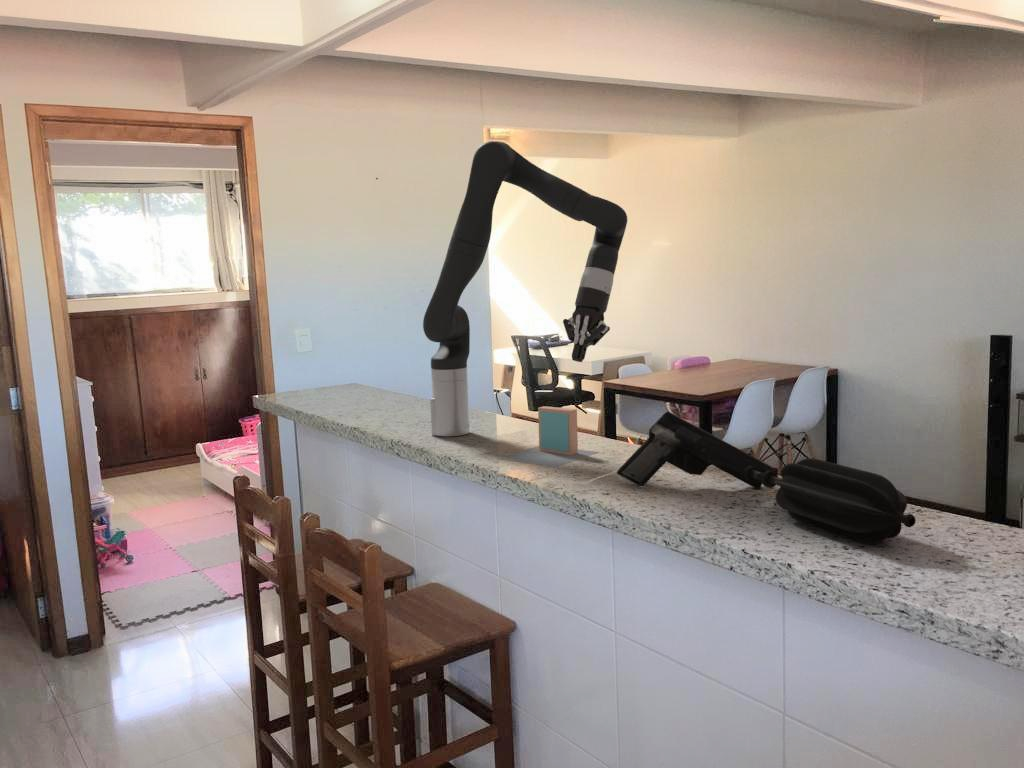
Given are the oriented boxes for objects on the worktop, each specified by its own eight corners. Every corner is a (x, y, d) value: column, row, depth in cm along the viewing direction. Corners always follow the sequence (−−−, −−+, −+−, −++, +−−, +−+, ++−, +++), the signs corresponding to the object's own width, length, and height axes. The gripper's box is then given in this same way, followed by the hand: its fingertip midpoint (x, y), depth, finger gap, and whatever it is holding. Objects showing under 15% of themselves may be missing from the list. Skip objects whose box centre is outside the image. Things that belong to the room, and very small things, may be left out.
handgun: (730, 536, 157) (771, 468, 154) (616, 473, 160) (654, 405, 157) (730, 532, 159) (770, 465, 156) (617, 470, 162) (654, 403, 159)
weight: (936, 550, 119) (938, 481, 118) (885, 562, 115) (887, 491, 114) (770, 496, 150) (770, 441, 149) (725, 504, 146) (725, 448, 145)
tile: (538, 450, 192) (537, 407, 191) (545, 448, 194) (544, 406, 193) (571, 455, 187) (570, 410, 185) (577, 453, 189) (576, 409, 187)
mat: (496, 459, 186) (496, 458, 186) (541, 446, 199) (541, 444, 199) (555, 468, 176) (555, 467, 176) (599, 453, 189) (598, 452, 189)
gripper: (563, 283, 199) (545, 354, 198) (608, 287, 190) (589, 361, 189) (582, 291, 204) (565, 360, 204) (626, 296, 195) (608, 368, 195)
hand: (577, 361), depth 196 cm, fingers closed
